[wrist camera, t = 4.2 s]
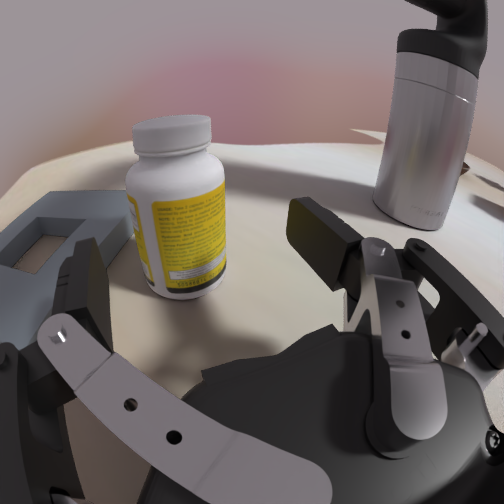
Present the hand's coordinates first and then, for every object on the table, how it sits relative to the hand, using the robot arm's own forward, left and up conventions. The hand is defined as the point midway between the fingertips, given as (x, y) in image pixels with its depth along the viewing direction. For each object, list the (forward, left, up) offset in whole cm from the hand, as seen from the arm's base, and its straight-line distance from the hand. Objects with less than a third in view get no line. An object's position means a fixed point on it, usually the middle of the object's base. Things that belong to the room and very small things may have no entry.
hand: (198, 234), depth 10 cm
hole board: (-3, -16, -6) cm, 17 cm away
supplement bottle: (-4, -3, -6) cm, 8 cm away
